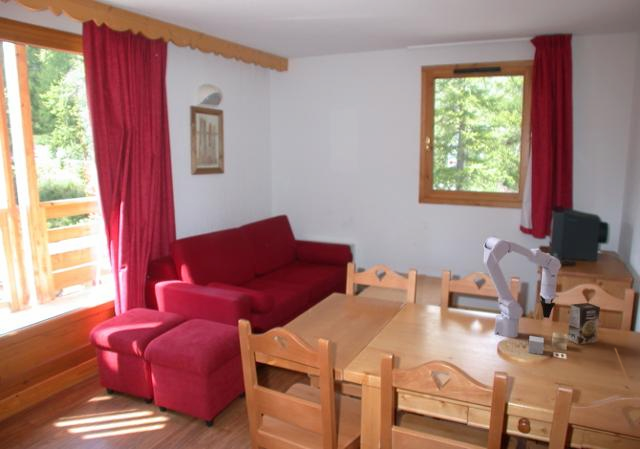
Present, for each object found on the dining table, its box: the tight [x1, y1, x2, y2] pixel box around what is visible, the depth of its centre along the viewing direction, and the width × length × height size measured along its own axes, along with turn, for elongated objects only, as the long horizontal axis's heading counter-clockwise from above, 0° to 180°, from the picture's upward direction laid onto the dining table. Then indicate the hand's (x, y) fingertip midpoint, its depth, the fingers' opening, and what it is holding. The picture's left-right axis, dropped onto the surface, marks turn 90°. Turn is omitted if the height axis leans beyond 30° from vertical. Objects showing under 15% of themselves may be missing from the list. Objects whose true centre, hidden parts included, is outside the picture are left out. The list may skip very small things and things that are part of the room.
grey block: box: [528, 335, 545, 355], centre depth 186 cm, size 5×5×5 cm
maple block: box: [551, 331, 568, 351], centre depth 190 cm, size 5×5×5 cm
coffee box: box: [567, 302, 601, 345], centre depth 196 cm, size 9×6×16 cm
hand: (546, 314), depth 204 cm, fingers open, 7 cm apart
